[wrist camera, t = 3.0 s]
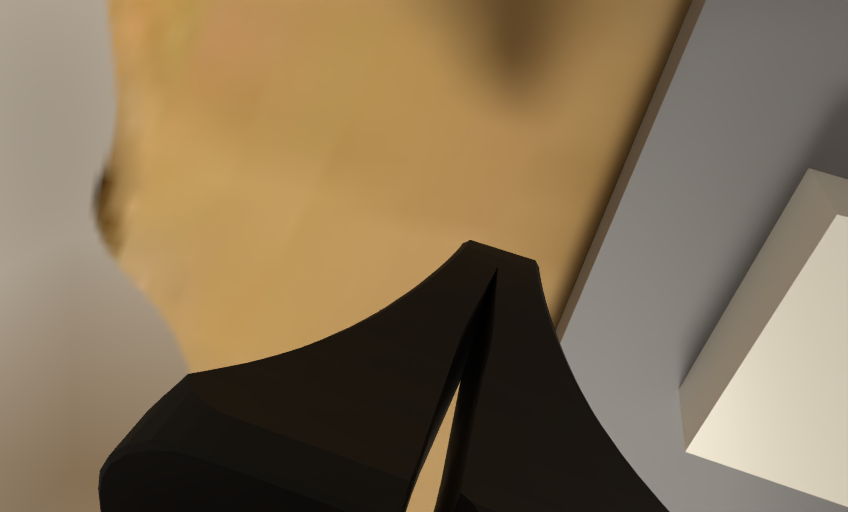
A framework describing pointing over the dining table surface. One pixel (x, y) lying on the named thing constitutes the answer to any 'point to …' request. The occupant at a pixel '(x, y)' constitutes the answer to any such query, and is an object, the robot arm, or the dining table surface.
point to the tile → (782, 355)
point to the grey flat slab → (704, 228)
